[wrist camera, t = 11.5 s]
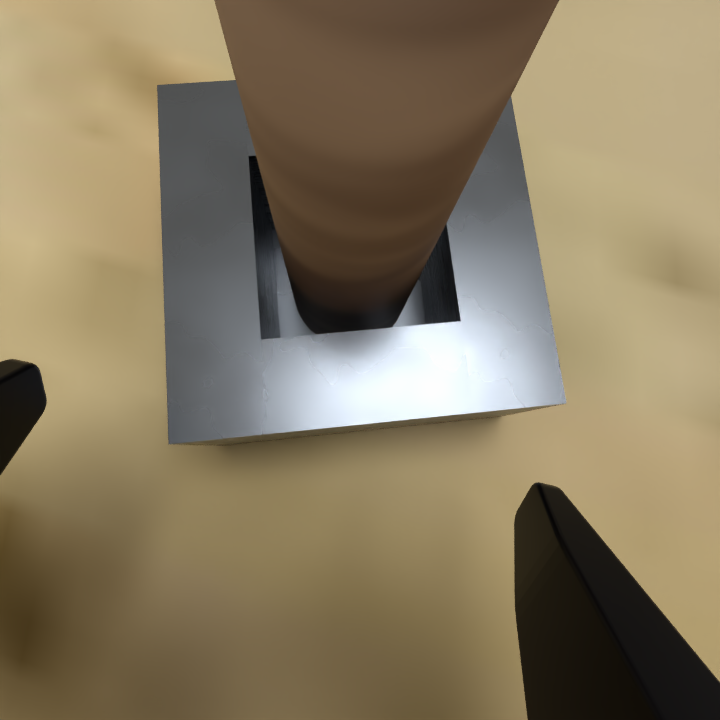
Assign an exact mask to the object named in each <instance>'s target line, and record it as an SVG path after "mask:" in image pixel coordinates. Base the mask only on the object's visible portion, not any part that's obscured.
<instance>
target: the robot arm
mask: <svg viewBox="0 0 720 720" xmlns="http://www.w3.org/2000/svg"><path fill="white" fill-rule="evenodd" d="M46 401H47V400H46V394H45V390H44V386H43V382H42V377H41V373H40V370H39V368H38V367H37V366H36V365H35V364H33V363H29V362H25V361H20V360H16V359H9V360H5V361H2V362H0V475H1V474H2V472H3V471H4V469H5V468H6V466H7V465H8V463H9V462H10V461H11V459H12V458H13V456H14V455H15V453H16V452H17V450H18V449H19V447H20V446H21V444H22V443H23V442H24V440H25V439H26V437H27V436H28V434H29V433H30V431H31V430H32V428H33V427H34V425H35V424H36V423H37V421H38V420H39V418H40V417H41V415H42V414H43V412H44V410H45V407H46ZM514 564H515V612H516V623H517V631H518V640H519V649H520V657H521V666H522V675H523V683H524V692H525V700H526V709H527V718H528V720H720V682H719V681H718V679H717V678H716V677H715V676H714V675H713V673H712V672H711V671H710V670H709V669H708V667H707V666H706V665H705V664H704V662H703V661H702V660H701V659H700V658H699V656H698V655H697V654H696V653H695V652H694V650H693V649H692V648H691V647H690V645H689V644H688V643H687V642H686V641H685V639H684V638H683V637H682V636H681V635H680V633H679V632H678V631H677V630H676V628H675V627H674V626H673V625H672V624H671V622H670V621H669V620H668V619H667V618H666V616H665V615H664V614H663V613H662V611H661V610H660V609H659V608H658V607H657V605H656V604H655V603H654V602H653V601H652V599H651V598H650V597H649V596H648V594H647V593H646V592H645V591H644V590H643V588H642V587H641V586H640V585H639V584H638V582H637V581H636V580H635V579H634V577H633V576H632V575H631V574H630V573H629V571H628V570H627V569H626V568H625V567H624V565H623V564H622V563H621V562H620V560H619V559H618V558H617V557H616V556H615V554H614V553H613V552H612V551H611V550H610V548H609V547H608V546H607V545H606V543H605V542H604V541H603V540H602V539H601V537H600V536H599V535H598V534H597V533H596V531H595V530H594V529H593V528H592V526H591V525H590V524H589V523H588V522H587V520H586V519H585V518H584V517H583V516H582V514H581V513H580V512H579V511H578V509H577V508H576V507H575V506H574V505H573V503H572V502H571V501H570V500H569V499H568V497H567V496H566V495H565V494H564V492H563V491H562V490H561V489H560V488H558V487H556V486H552V485H548V484H543V483H534V484H533V485H532V486H531V488H530V489H529V491H528V493H527V495H526V496H525V498H524V500H523V501H522V503H521V505H520V507H519V508H518V510H517V513H516V516H515V522H514Z"/></svg>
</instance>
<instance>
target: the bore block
mask: <svg viewBox="0 0 720 720" xmlns="http://www.w3.org/2000/svg"><path fill="white" fill-rule="evenodd" d="M157 92H158V124H159V155H160V187H161V219H162V250H163V282H164V313H165V345H166V377H167V408H168V440H169V444H179V445H229V444H239V443H249V442H258V441H268V440H278V439H287V438H297V437H307V436H316V435H326V434H336V433H345V432H355V431H364V430H374V429H384V428H393V427H403V426H413V425H422V424H432V423H442V422H451V421H461V420H471V419H480V418H490V417H500V416H506V415H511V414H516V413H521V412H526V411H531V410H536V409H541V408H546V407H551V406H556V405H561V404H566V398H565V393H564V387H563V382H562V376H561V370H560V365H559V359H558V354H557V348H556V343H555V337H554V332H553V326H552V321H551V315H550V310H549V304H548V299H547V293H546V288H545V282H544V276H543V271H542V265H541V260H540V254H539V249H538V243H537V238H536V232H535V227H534V221H533V216H532V210H531V205H530V199H529V194H528V188H527V182H526V177H525V171H524V166H523V160H522V155H521V149H520V144H519V138H518V133H517V127H516V122H515V116H514V111H513V105H512V100H511V96H510V98H509V100H508V102H507V104H506V106H505V108H504V110H503V112H502V114H501V116H500V118H499V120H498V122H497V124H496V126H495V128H494V130H493V132H492V134H491V136H490V138H489V140H488V142H487V144H486V146H485V148H484V150H483V152H482V154H481V156H480V158H479V160H478V162H477V164H476V166H475V168H474V170H473V172H472V174H471V176H470V178H469V180H468V182H467V184H466V185H465V187H464V189H463V191H462V193H461V195H460V197H459V199H458V201H457V203H456V205H455V207H454V209H453V211H452V213H451V215H450V217H449V219H448V221H447V223H446V225H445V227H444V229H443V231H442V233H441V235H440V237H439V239H438V241H437V243H436V245H435V247H434V249H433V251H432V253H431V255H430V257H429V259H428V261H427V263H426V265H425V267H424V269H423V271H422V273H421V275H420V277H419V279H418V281H417V283H416V284H415V286H414V288H413V290H412V292H411V294H410V296H409V298H408V300H407V302H406V304H405V306H404V308H403V310H402V312H401V314H400V316H399V318H398V320H397V321H396V323H395V324H394V325H393V327H392V328H382V329H371V330H360V331H349V332H338V333H327V334H317V335H316V334H315V333H314V332H313V331H312V330H310V329H309V328H308V326H307V325H306V324H305V323H304V321H303V320H302V318H301V317H300V315H299V312H298V310H297V307H296V304H295V300H294V296H293V292H292V289H291V285H290V281H289V277H288V274H287V270H286V266H285V262H284V259H283V255H282V251H281V247H280V244H279V240H278V236H277V232H276V229H275V225H274V221H273V217H272V214H271V210H270V206H269V203H268V199H267V195H266V191H265V188H264V184H263V180H262V176H261V173H260V169H259V165H258V161H257V158H256V154H255V150H254V146H253V143H252V139H251V135H250V131H249V128H248V124H247V120H246V116H245V113H244V109H243V105H242V101H241V98H240V94H239V90H238V86H237V83H236V80H231V81H215V82H199V83H183V84H168V85H157Z"/></svg>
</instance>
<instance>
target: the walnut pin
mask: <svg viewBox="0 0 720 720" xmlns="http://www.w3.org/2000/svg"><path fill="white" fill-rule="evenodd" d="M558 1H559V0H215V4H216V8H217V11H218V15H219V19H220V23H221V26H222V30H223V34H224V38H225V41H226V45H227V49H228V53H229V56H230V60H231V64H232V68H233V71H234V75H235V79H236V83H237V86H238V90H239V94H240V98H241V101H242V105H243V109H244V113H245V116H246V120H247V124H248V128H249V131H250V135H251V139H252V143H253V146H254V150H255V154H256V158H257V161H258V165H259V169H260V173H261V176H262V180H263V184H264V188H265V191H266V195H267V199H268V203H269V206H270V210H271V214H272V217H273V221H274V225H275V229H276V232H277V236H278V240H279V244H280V247H281V251H282V255H283V259H284V262H285V266H286V270H287V274H288V277H289V281H290V285H291V289H292V292H293V296H294V300H295V304H296V307H297V310H298V312H299V315H300V317H301V318H302V320H303V321H304V323H305V324H306V325H307V326H308V328H309V329H310V330H312V331H313V332H314V333H315V334H316V335H317V334H327V333H338V332H349V331H360V330H371V329H382V328H392V327H393V325H394V324H395V323H396V321H397V320H398V318H399V316H400V314H401V312H402V310H403V308H404V306H405V304H406V302H407V300H408V298H409V296H410V294H411V292H412V290H413V288H414V286H415V284H416V283H417V281H418V279H419V277H420V275H421V273H422V271H423V269H424V267H425V265H426V263H427V261H428V259H429V257H430V255H431V253H432V251H433V249H434V247H435V245H436V243H437V241H438V239H439V237H440V235H441V233H442V231H443V229H444V227H445V225H446V223H447V221H448V219H449V217H450V215H451V213H452V211H453V209H454V207H455V205H456V203H457V201H458V199H459V197H460V195H461V193H462V191H463V189H464V187H465V185H466V184H467V182H468V180H469V178H470V176H471V174H472V172H473V170H474V168H475V166H476V164H477V162H478V160H479V158H480V156H481V154H482V152H483V150H484V148H485V146H486V144H487V142H488V140H489V138H490V136H491V134H492V132H493V130H494V128H495V126H496V124H497V122H498V120H499V118H500V116H501V114H502V112H503V110H504V108H505V106H506V104H507V102H508V100H509V98H510V96H511V94H512V92H513V90H514V88H515V87H516V85H517V83H518V81H519V79H520V77H521V75H522V73H523V71H524V69H525V67H526V65H527V63H528V61H529V59H530V57H531V55H532V53H533V51H534V49H535V47H536V45H537V43H538V41H539V39H540V37H541V35H542V33H543V31H544V29H545V27H546V25H547V23H548V21H549V19H550V17H551V15H552V13H553V11H554V9H555V7H556V5H557V3H558Z"/></svg>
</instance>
